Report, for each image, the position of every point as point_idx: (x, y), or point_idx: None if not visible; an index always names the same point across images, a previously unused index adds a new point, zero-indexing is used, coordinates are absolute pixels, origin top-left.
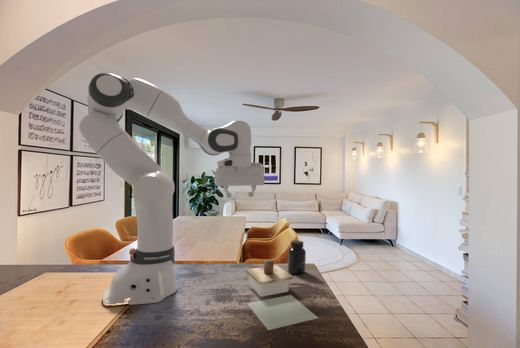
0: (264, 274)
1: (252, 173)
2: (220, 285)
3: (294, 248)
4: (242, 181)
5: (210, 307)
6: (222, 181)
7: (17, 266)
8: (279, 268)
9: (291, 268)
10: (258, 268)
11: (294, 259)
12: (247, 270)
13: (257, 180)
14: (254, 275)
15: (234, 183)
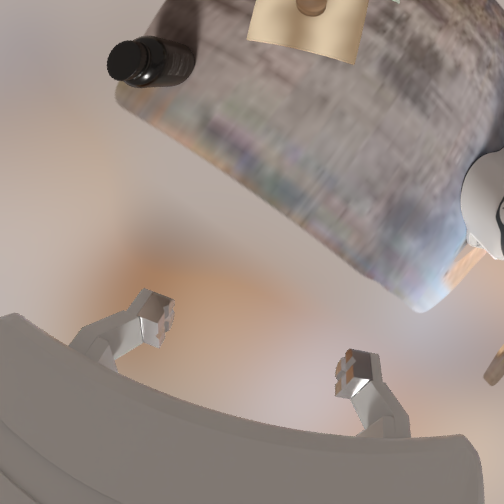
0: (329, 4)
1: (39, 482)
2: (398, 112)
3: (149, 50)
4: (220, 461)
5: (460, 51)
6: (447, 471)
7: (493, 380)
8: (258, 12)
9: (188, 55)
10: (315, 45)
11: (172, 44)
12: (354, 54)
13: (24, 374)
14: (358, 16)
15: (337, 456)
